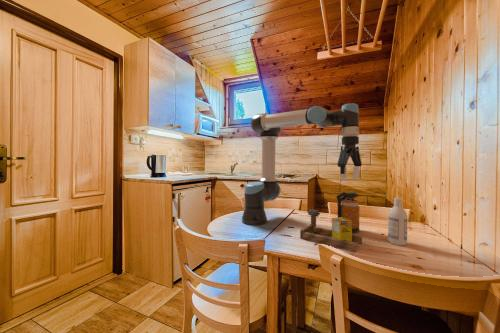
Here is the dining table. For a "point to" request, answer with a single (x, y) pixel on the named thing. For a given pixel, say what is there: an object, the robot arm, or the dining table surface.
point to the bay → (308, 230)
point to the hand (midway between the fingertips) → (350, 180)
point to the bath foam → (397, 224)
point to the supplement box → (342, 229)
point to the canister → (349, 209)
